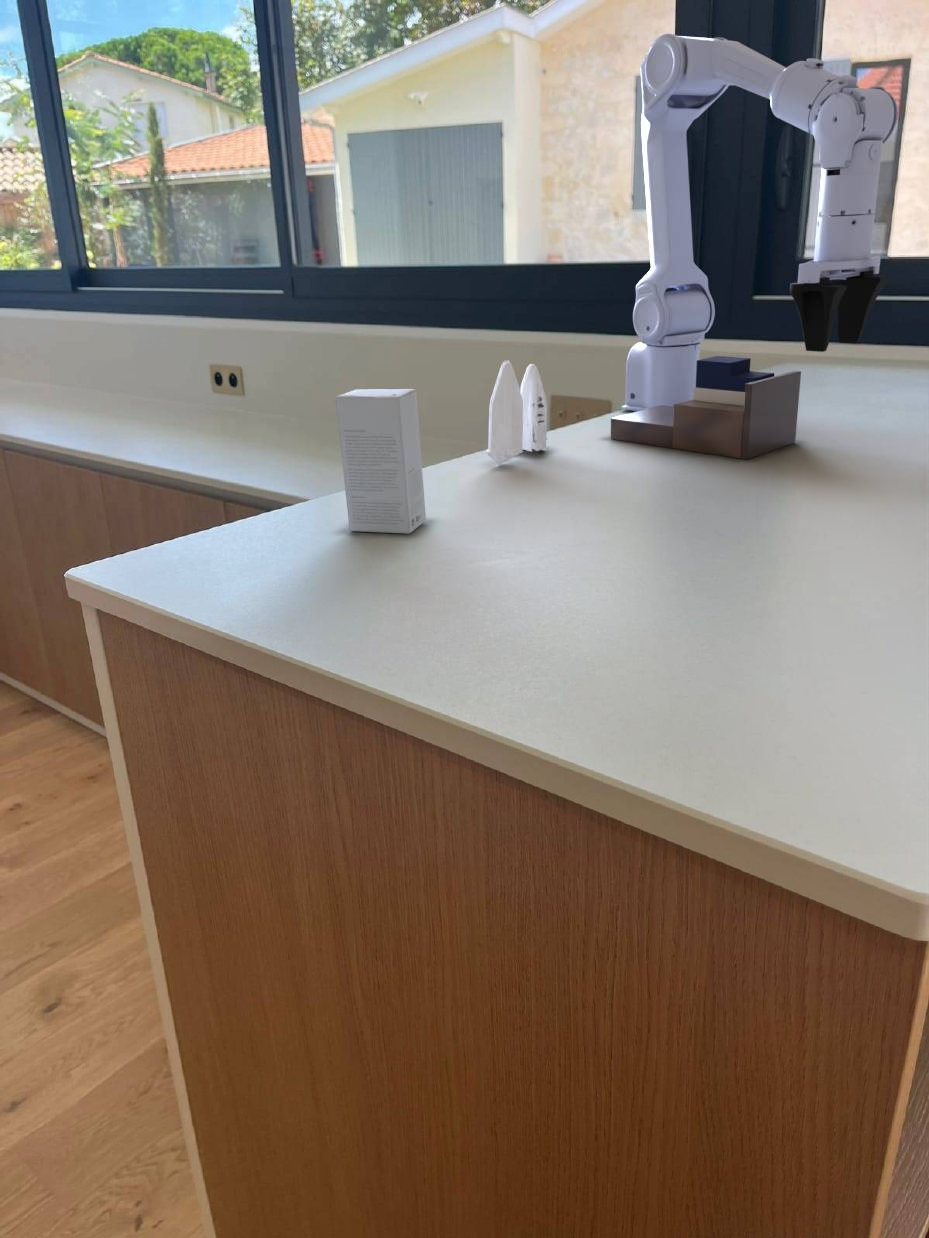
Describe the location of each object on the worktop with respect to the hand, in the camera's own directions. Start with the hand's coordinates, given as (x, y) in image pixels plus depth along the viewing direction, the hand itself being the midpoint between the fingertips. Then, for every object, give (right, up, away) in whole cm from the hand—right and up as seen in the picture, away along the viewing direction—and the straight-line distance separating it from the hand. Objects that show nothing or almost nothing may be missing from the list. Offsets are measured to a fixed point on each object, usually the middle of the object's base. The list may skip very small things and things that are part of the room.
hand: (832, 347), depth 106 cm
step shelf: (-14, -10, +5) cm, 18 cm away
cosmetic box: (-48, -22, -21) cm, 57 cm away
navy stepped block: (-11, -6, 0) cm, 13 cm away
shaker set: (-35, -13, +1) cm, 38 cm away
